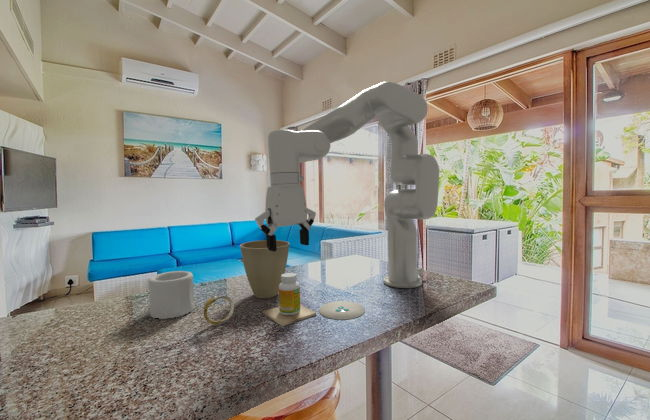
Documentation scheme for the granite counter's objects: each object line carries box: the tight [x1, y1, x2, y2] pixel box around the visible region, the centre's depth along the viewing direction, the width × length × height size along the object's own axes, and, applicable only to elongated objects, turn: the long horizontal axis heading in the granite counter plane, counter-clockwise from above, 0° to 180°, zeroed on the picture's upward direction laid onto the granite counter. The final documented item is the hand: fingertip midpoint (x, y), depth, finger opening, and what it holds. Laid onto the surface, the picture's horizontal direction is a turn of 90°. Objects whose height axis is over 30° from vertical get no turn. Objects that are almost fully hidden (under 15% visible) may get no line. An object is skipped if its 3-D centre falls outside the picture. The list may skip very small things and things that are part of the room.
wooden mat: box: [262, 304, 317, 327], centre depth 79 cm, size 10×10×1 cm
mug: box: [147, 270, 195, 320], centre depth 83 cm, size 14×11×10 cm
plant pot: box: [239, 239, 290, 299], centre depth 94 cm, size 15×15×16 cm
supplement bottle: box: [278, 272, 301, 315], centre depth 79 cm, size 5×5×10 cm
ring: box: [202, 290, 235, 326], centre depth 73 cm, size 7×3×8 cm, turn 115°
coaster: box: [318, 300, 366, 321], centre depth 81 cm, size 12×12×1 cm
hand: (289, 247), depth 78 cm, fingers open, 9 cm apart
